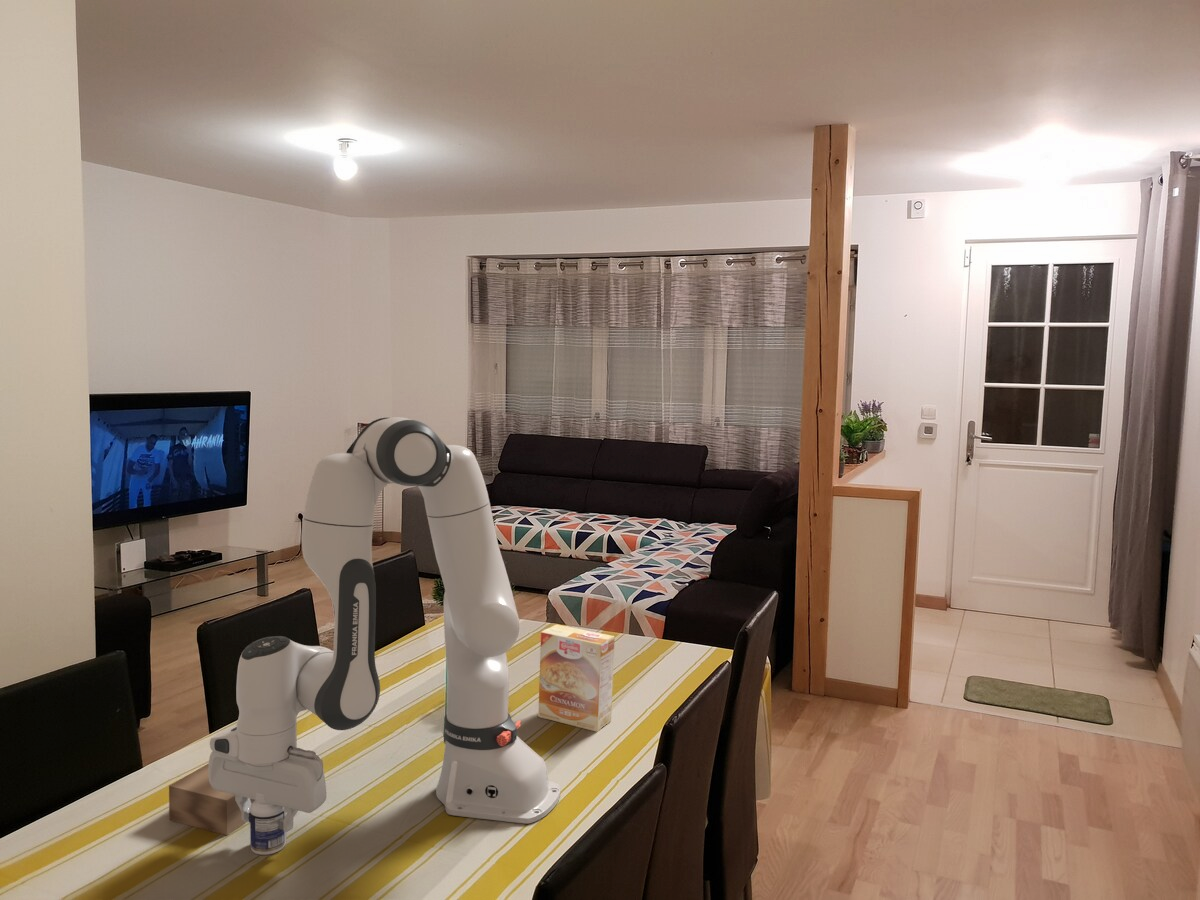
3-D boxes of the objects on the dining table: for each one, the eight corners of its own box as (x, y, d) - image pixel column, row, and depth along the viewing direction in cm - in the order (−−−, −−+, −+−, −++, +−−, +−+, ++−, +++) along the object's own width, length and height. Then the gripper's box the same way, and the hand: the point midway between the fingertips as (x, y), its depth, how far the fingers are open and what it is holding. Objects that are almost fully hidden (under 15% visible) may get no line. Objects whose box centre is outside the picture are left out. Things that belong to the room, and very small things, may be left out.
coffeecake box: (537, 717, 193) (539, 631, 191) (553, 706, 200) (556, 623, 198) (597, 732, 187) (600, 643, 184) (612, 721, 193) (615, 634, 191)
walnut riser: (277, 801, 154) (277, 768, 153) (227, 835, 143) (226, 800, 142) (222, 787, 158) (222, 755, 157) (169, 820, 147) (168, 785, 146)
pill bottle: (256, 837, 142) (255, 780, 141) (290, 836, 143) (290, 779, 142) (245, 856, 137) (245, 796, 136) (281, 855, 138) (281, 796, 137)
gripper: (335, 745, 138) (334, 828, 139) (230, 722, 144) (231, 802, 146) (309, 762, 132) (309, 849, 133) (201, 738, 138) (202, 821, 140)
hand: (267, 824), depth 140 cm, fingers open, 6 cm apart
